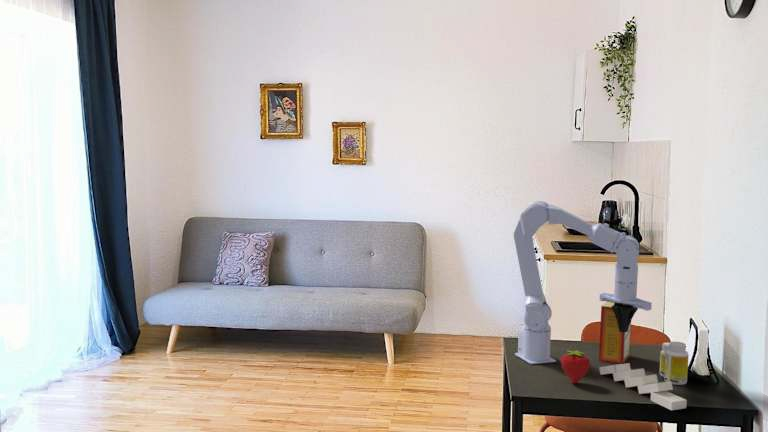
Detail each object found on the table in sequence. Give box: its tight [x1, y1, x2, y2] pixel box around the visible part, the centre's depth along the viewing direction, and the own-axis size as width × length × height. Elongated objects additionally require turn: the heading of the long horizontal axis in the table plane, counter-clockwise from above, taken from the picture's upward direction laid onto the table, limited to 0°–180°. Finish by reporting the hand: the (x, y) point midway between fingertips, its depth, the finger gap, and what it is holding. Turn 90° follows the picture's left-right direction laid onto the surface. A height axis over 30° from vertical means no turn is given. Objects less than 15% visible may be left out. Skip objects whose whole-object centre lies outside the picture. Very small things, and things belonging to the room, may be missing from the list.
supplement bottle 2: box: [663, 341, 690, 386], centre depth 198 cm, size 6×6×10 cm
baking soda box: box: [598, 301, 632, 365], centre depth 218 cm, size 10×6×16 cm
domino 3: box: [637, 381, 674, 395], centre depth 188 cm, size 2×4×7 cm
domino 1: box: [612, 368, 646, 382], centre depth 197 cm, size 2×4×7 cm
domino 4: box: [650, 390, 688, 411], centre depth 183 cm, size 2×4×7 cm
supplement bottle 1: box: [658, 342, 670, 378], centre depth 204 cm, size 5×5×8 cm
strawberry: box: [560, 349, 591, 384], centre depth 196 cm, size 6×8×10 cm
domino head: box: [598, 362, 632, 376], centre depth 202 cm, size 2×4×7 cm
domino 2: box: [623, 374, 659, 389], centre depth 192 cm, size 2×4×7 cm
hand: (623, 331), depth 208 cm, fingers closed
